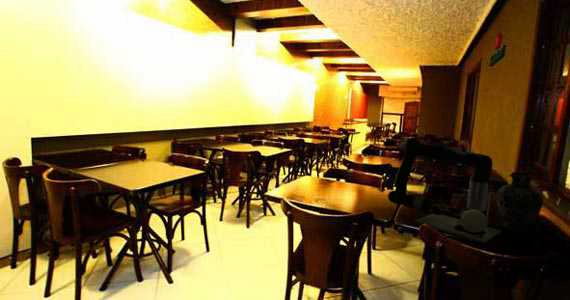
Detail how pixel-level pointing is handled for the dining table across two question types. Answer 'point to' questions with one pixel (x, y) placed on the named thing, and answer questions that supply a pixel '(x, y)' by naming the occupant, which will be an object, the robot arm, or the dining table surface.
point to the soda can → (458, 203)
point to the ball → (473, 221)
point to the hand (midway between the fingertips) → (455, 213)
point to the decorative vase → (519, 202)
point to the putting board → (449, 223)
